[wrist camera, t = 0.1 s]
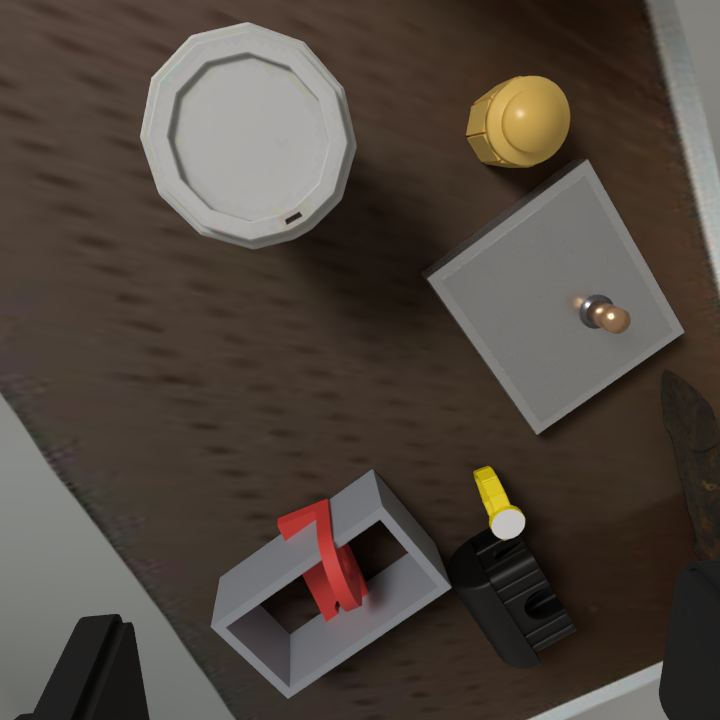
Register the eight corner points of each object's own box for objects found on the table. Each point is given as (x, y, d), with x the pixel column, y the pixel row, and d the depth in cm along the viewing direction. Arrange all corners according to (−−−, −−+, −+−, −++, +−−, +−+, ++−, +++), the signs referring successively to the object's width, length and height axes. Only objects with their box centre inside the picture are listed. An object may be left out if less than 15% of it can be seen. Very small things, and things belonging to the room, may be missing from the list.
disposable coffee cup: (155, 116, 41) (80, 86, 27) (291, 37, 40) (289, -38, 26) (238, 253, 44) (210, 291, 30) (365, 181, 44) (398, 185, 29)
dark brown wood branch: (726, 533, 57) (763, 563, 52) (687, 548, 57) (720, 579, 52) (691, 356, 51) (729, 372, 46) (647, 373, 51) (680, 391, 46)
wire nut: (454, 118, 43) (477, 109, 37) (516, 70, 42) (549, 54, 37) (493, 181, 45) (521, 182, 39) (553, 135, 44) (591, 130, 38)
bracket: (277, 518, 51) (274, 578, 43) (327, 498, 50) (332, 555, 43) (330, 623, 54) (336, 695, 47) (377, 605, 54) (390, 674, 47)
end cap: (437, 551, 54) (456, 602, 47) (505, 512, 53) (534, 558, 47) (486, 625, 57) (510, 683, 50) (551, 589, 56) (584, 642, 50)
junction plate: (420, 273, 46) (437, 287, 40) (572, 160, 45) (612, 157, 39) (525, 422, 51) (554, 454, 45) (665, 324, 49) (714, 344, 44)
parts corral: (220, 577, 52) (210, 626, 46) (372, 468, 51) (382, 506, 45) (288, 644, 55) (287, 698, 49) (435, 543, 53) (451, 587, 48)
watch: (508, 505, 53) (534, 548, 48) (479, 516, 53) (502, 560, 48) (491, 451, 51) (516, 490, 46) (460, 463, 51) (482, 503, 46)
